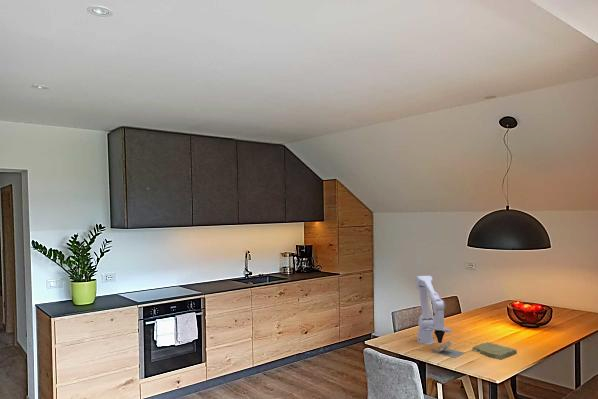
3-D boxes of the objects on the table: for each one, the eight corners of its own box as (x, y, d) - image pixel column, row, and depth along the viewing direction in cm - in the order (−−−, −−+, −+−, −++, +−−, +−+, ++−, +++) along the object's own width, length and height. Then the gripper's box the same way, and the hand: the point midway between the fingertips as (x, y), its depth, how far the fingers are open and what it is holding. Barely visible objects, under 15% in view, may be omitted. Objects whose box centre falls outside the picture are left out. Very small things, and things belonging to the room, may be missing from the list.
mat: (430, 353, 277) (430, 352, 277) (440, 348, 286) (440, 347, 286) (455, 358, 265) (455, 358, 265) (465, 353, 274) (465, 352, 274)
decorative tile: (486, 346, 288) (486, 340, 288) (517, 354, 272) (517, 348, 272) (469, 352, 277) (469, 346, 277) (500, 361, 261) (500, 355, 261)
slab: (435, 349, 276) (444, 343, 272) (441, 346, 281) (450, 340, 277) (438, 352, 275) (447, 346, 271) (443, 350, 280) (452, 343, 276)
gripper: (425, 319, 281) (426, 341, 280) (446, 323, 270) (447, 346, 270) (431, 317, 286) (431, 339, 285) (452, 321, 275) (453, 343, 275)
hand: (439, 342), depth 278 cm, fingers closed
